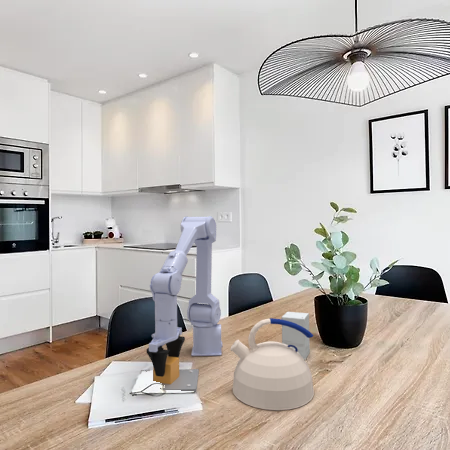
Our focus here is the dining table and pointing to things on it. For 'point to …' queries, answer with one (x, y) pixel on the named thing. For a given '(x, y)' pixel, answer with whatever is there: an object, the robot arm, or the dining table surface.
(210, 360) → the dining table surface
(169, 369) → the orange cube
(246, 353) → the kettle
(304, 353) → the supplement box
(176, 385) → the plate
